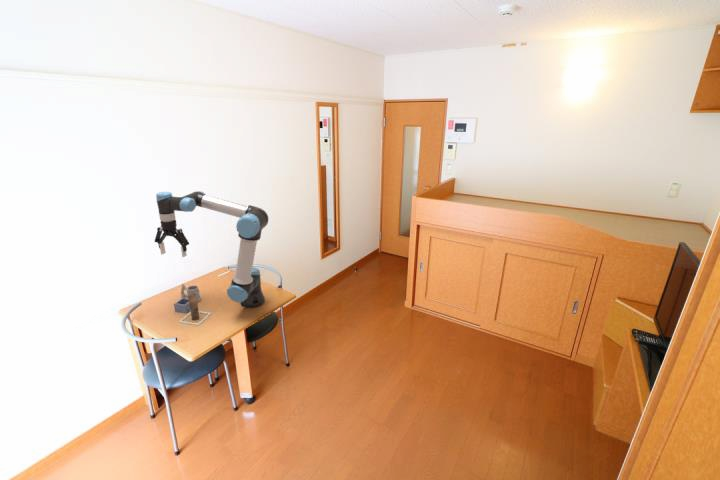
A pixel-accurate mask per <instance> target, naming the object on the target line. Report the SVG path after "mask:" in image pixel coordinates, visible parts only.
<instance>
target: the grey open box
mask: <svg viewBox="0 0 720 480" xmlns="http://www.w3.org/2000/svg"><path fill="white" fill-rule="evenodd" d="M173 308H174V312H175V313H180V314H181V313H182V314H189V313H190V312H191V311H190V305H189V299H188V298H182V297H181V298H180V299H178V300H176V301H175V302H174V303H173Z"/></svg>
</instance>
